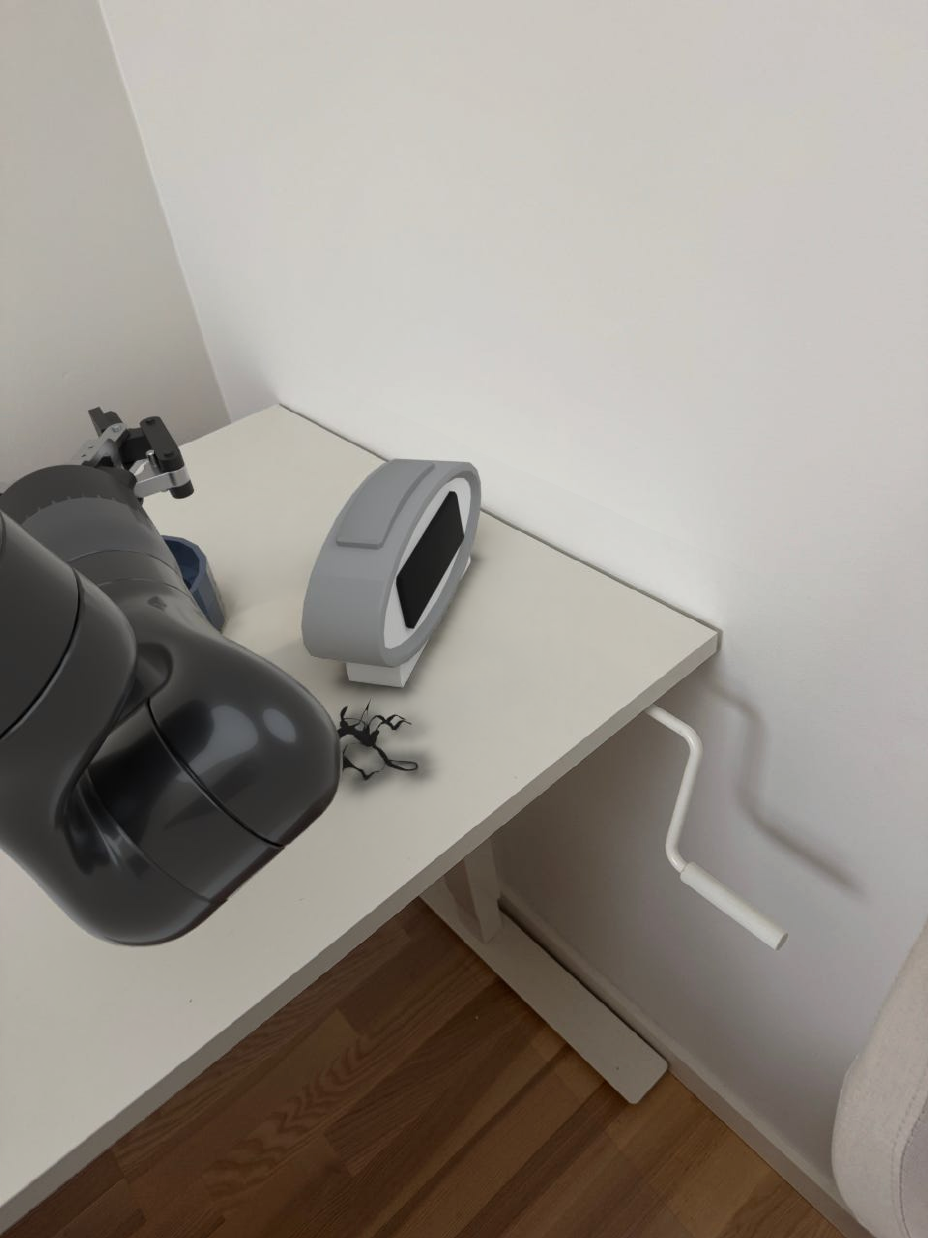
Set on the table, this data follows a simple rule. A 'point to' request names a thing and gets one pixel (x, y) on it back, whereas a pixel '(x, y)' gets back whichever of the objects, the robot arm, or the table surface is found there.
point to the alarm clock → (391, 567)
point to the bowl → (198, 578)
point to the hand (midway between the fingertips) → (27, 447)
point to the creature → (368, 739)
